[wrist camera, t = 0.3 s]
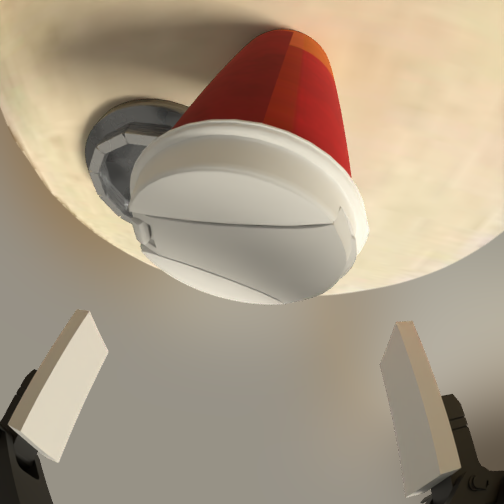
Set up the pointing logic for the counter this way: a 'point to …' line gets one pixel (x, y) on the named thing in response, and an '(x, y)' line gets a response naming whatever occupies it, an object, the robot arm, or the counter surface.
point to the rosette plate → (125, 146)
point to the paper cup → (254, 181)
